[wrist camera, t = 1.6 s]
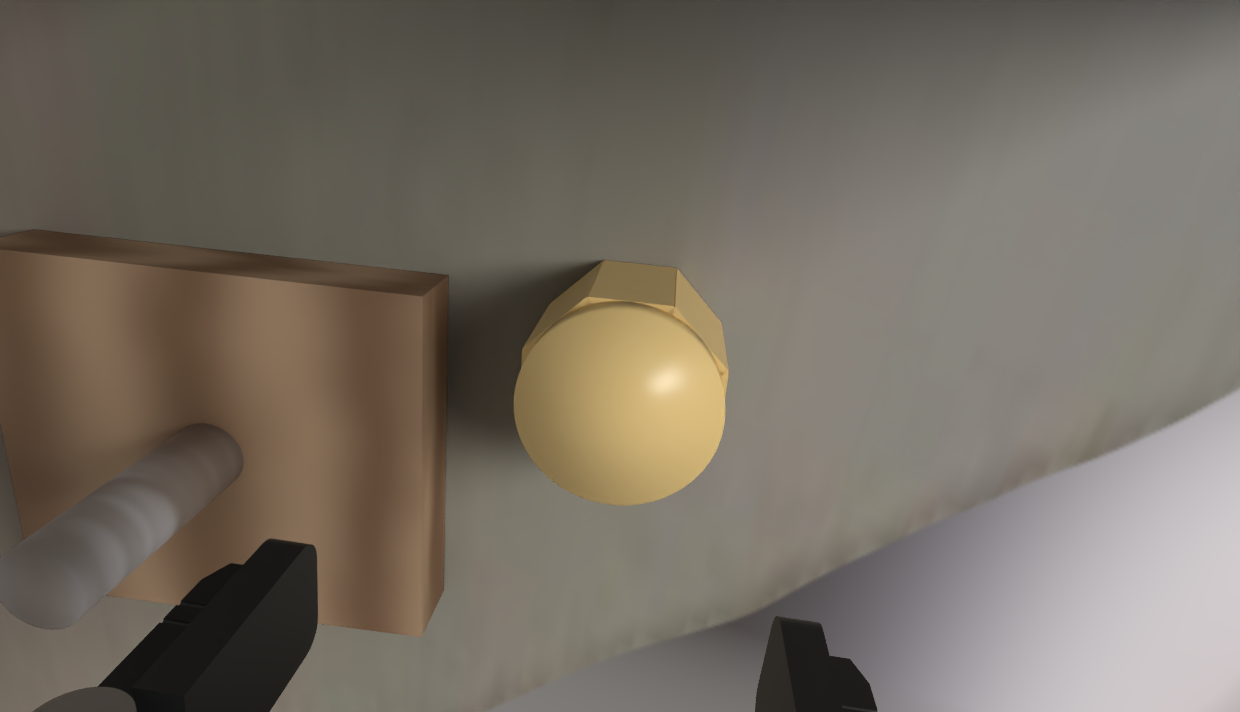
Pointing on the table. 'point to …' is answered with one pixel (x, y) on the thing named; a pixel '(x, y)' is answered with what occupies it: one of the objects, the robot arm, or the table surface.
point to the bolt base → (220, 425)
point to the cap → (623, 385)
